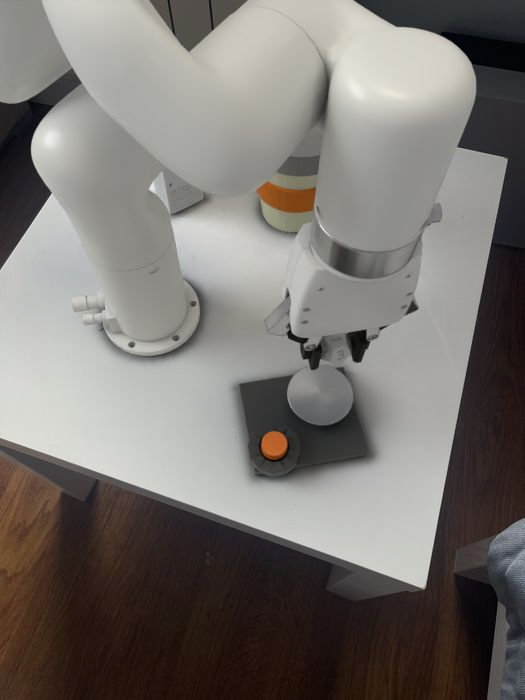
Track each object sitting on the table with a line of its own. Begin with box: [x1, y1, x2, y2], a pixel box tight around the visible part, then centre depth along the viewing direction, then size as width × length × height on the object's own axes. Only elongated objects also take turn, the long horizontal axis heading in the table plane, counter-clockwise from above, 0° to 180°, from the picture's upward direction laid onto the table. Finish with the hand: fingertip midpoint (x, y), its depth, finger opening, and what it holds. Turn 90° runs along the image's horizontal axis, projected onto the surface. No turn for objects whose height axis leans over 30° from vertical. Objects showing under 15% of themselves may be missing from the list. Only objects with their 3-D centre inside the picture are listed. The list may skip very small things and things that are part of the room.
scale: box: [238, 366, 369, 478], centre depth 62 cm, size 13×12×3 cm
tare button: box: [261, 431, 287, 460], centre depth 59 cm, size 3×3×2 cm
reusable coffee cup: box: [256, 130, 323, 233], centre depth 73 cm, size 13×13×15 cm
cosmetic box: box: [153, 167, 205, 215], centre depth 75 cm, size 6×4×12 cm
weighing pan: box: [287, 364, 354, 426], centre depth 62 cm, size 8×8×1 cm
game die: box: [320, 333, 352, 365], centre depth 52 cm, size 4×4×3 cm
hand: (332, 352), depth 53 cm, fingers closed on game die, 3 cm apart
